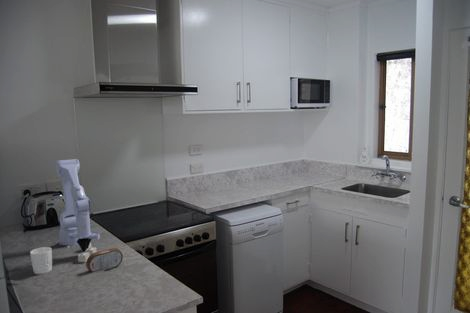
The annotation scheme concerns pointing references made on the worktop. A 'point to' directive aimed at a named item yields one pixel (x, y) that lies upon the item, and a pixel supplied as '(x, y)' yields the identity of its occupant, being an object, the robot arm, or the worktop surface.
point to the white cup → (41, 260)
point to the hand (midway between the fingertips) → (85, 253)
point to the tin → (104, 259)
